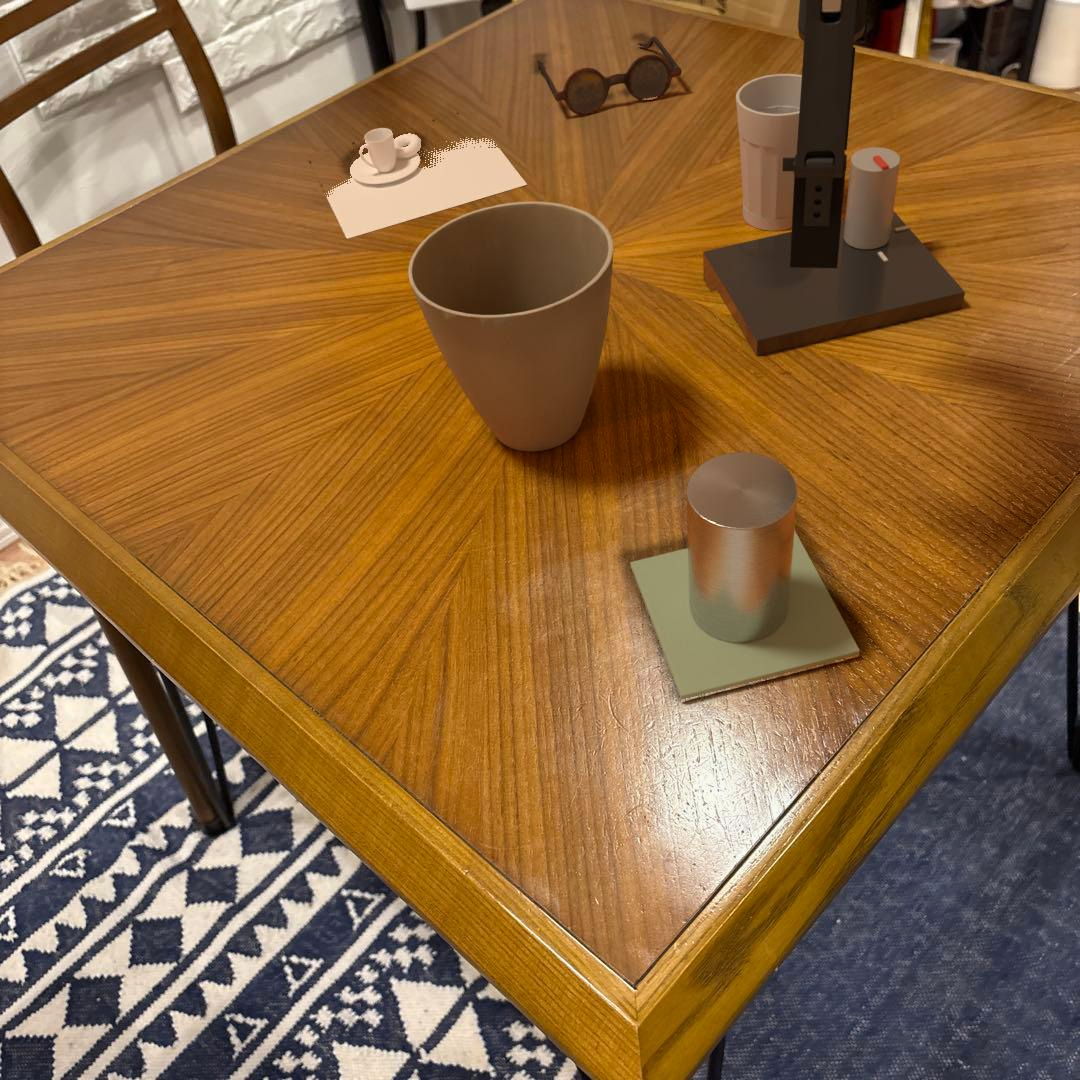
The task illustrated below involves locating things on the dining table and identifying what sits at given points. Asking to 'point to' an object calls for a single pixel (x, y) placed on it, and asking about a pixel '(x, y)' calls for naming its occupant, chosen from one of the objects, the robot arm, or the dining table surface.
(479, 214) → the plant pot
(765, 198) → the cup
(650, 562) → the trivet
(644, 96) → the eyeglasses
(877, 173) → the hob knob
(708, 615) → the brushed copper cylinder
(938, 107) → the dining table surface
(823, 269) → the hob control panel
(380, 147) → the teacup and saucer
